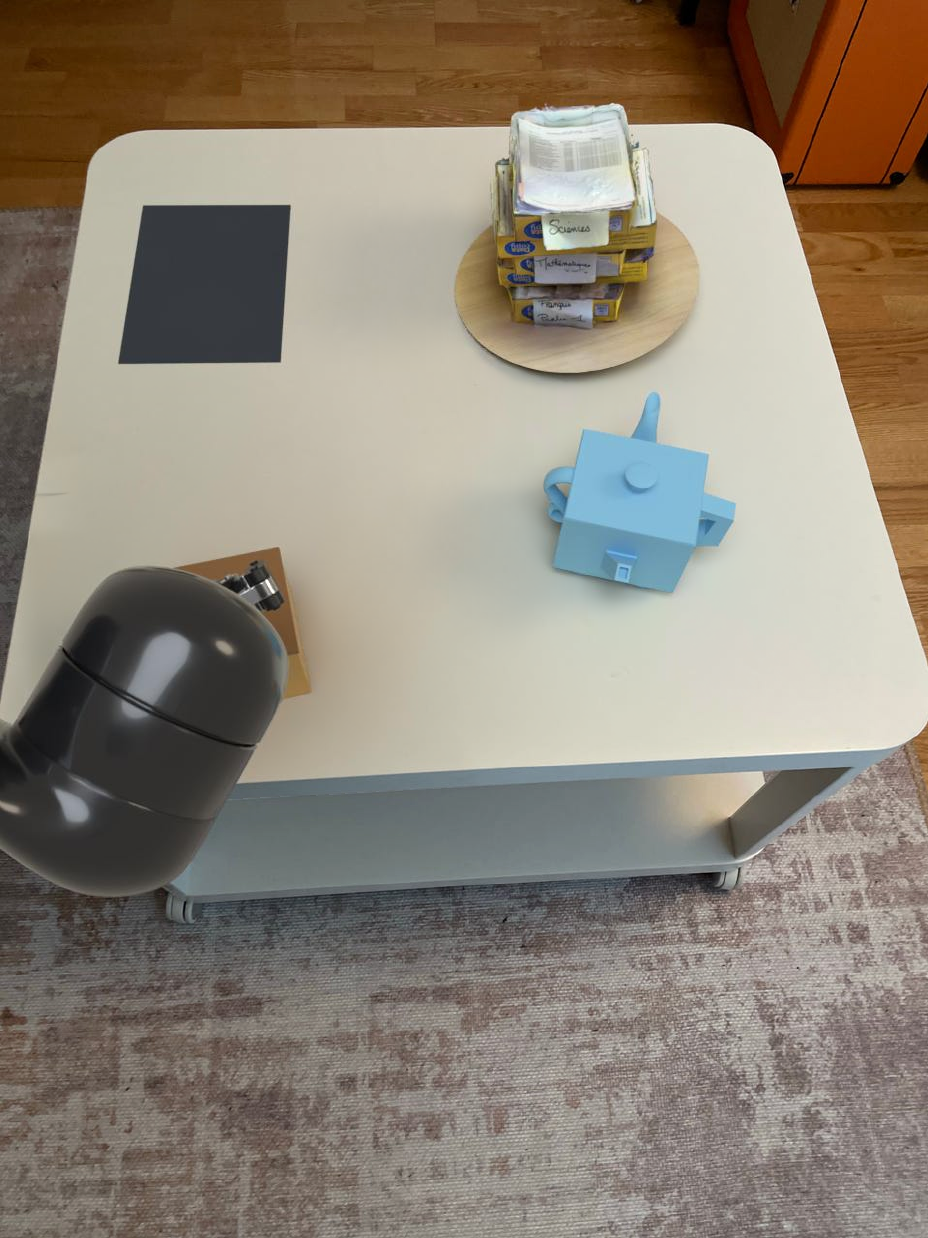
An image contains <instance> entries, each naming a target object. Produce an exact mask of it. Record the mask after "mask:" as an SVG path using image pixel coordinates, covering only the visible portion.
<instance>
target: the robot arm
mask: <svg viewBox="0 0 928 1238" xmlns="http://www.w3.org/2000/svg"><path fill="white" fill-rule="evenodd" d="M250 565H251V566H249V567H247V568H246V571H245V574H243V575H241V576H240V577H239V576H238V574H237V573H235V574H233V575H231V574H228V575H227V576H225V577H223V578H222V579H220V580H219V581H217V580H216V579H212V580H210V579H207V578H205V577H202V576H200V575H197V574H194V573H191V572H187V571H183V570H178V569H173V568H174V567H168V566H156V565H136V566H135V565H134V566H129V567H125V568H122V569H119V570H117V571H115V572H113V573H110V574H109V575H107V576H106V577H105V578H104V579H103V580H102V581H101V582H100V583H99V584H98V586H96V588H95V589H94V590H93V591H92V593H91V594H90V596H88V598H87V600H86V601H85V602H84V604H83V605H82V607H81V609H80V610H79V612H78V614H77V615H76V617H75V619H74V620H73V622H72V624H71V625H70V627H69V629H68V630H67V632H66V633H65V635H64V637H63V639H62V643H61V645H59V646H58V647H57V648H56V651H55V653H54V654H53V656H52V658H51V660H50V661H49V663H48V665H47V667H46V668H45V670H44V672H43V673H42V674H41V677H40V678H39V680H38V682H37V683H36V685H35V687H34V688H33V690H32V692H31V693H30V695H29V697H28V699H27V701H26V703H24V705H23V708H22V709H21V711H20V713H19V714H18V716H17V718H16V719H15V721H14V722H13V723H11V722H8V721H6V720H4V719H1V718H0V850H1V851H3V852H4V853H6V854H7V855H8V856H10V857H11V858H13V859H14V860H15V861H17V862H18V863H20V864H21V865H22V866H23V867H25V868H27V869H28V870H30V871H32V872H33V873H36V874H37V875H38V876H40V877H42V878H43V879H45V880H46V881H48V882H50V883H52V884H54V885H56V886H58V887H61V888H62V889H66V890H68V891H70V892H74V893H77V894H81V895H86V896H91V897H99V898H123V897H130V896H139V895H143V894H146V893H148V892H149V893H150V892H153V891H156V890H158V889H160V888H163V887H164V886H166V885H168V884H170V883H171V882H174V881H175V880H176V879H177V878H179V877H180V875H182V873H184V872H185V870H186V869H187V868H188V867H189V865H190V864H191V863H192V862H193V860H194V859H195V857H196V856H197V854H198V852H199V850H200V849H201V847H202V846H203V844H204V842H205V840H206V839H207V838H208V835H209V833H210V831H211V830H212V828H213V825H214V824H215V822H216V820H217V819H218V816H219V815H220V813H221V811H222V810H223V808H224V806H225V805H226V803H227V801H228V800H229V798H230V797H231V794H232V792H233V790H234V789H235V787H236V785H237V784H238V781H240V778H241V776H242V775H243V773H244V771H245V769H246V767H247V765H248V764H249V763H250V760H251V758H252V757H253V756H254V754H255V751H256V750H257V748H258V744H259V743H261V741H262V739H264V736H265V735H266V732H267V731H268V729H269V727H270V726H271V724H272V722H273V720H274V718H275V716H276V715H277V712H278V711H279V709H280V706H281V704H282V702H283V699H284V698H283V697H284V694H285V691H286V687H287V683H288V678H289V658H288V654H287V651H286V648H285V645H284V643H283V641H282V639H281V637H280V636H279V634H278V633H277V631H276V630H275V628H274V627H273V626H272V624H271V623H270V622H269V621H268V620H267V619H266V618H265V617H264V616H263V615H262V614H261V613H262V612H263V611H265V610H266V612H268V611H270V610H272V609H273V611H275V610H277V609H278V608H280V607H281V606H280V605H281V604H283V603H284V602H285V600H284V596H283V593H282V591H281V590H280V588H279V587H278V585H277V583H276V581H275V579H274V578H273V576H272V574H271V572H270V571H269V569H268V567H267V566H266V564H265V562H264V560H263V559H262V560H260V561H258V562H257V560H255V561H253V562H252V563H250ZM255 607H256V608H257V609H256V608H255Z"/></svg>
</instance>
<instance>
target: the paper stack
mask: <svg viewBox="0 0 928 1238" xmlns="http://www.w3.org/2000/svg"><path fill="white" fill-rule="evenodd" d="M547 105H548V104H547V103H546V102H545V103H544V106H543V107H541V109H539V108H537V106H535V107H534V108H532V109H530V110H529V109H528V110H524V111H523V110H522V111H521V110H520V111H518V110H517V111H516V112H515V113H513V114H512V115H511V116H510V117H511V118H510V130H509V137H508V138H509V141H508V144H509V145H508V158H506V159H505V158H504V157H502V158H501V159H499V160H497V161H496V162H495V163H494V169H495V171H494V172H495V173H494V174H495V177H494V178H493V179H492V180H491V181H490V185H489V186H490V188H489V192H490V203H491V204H490V205H491V216H492V218H491V219H492V224H491V225H490V226H488V227H487V228H486V229H485V230H483V231H482V232H481V233H480V234H479V235H478V236H477V237H476V238H475V239H474V240H473V242H472V243H471V245H470V246H469V247H468V248H467V250H466V251H465V254H464V255H463V257H462V259H461V261H460V263H459V265H458V269H457V272H456V276H455V281H454V297H455V304H456V308H457V311H458V314H459V316H460V319H461V320H462V323H463V324H464V326H465V327H466V329H467V330H468V332H469V333H470V334H471V335H472V336H473V337H474V339H475V340H476V341H478V343H480V344H481V345H482V346H483V347H484V348H486V349H487V350H488V351H489V352H491V353H493V354H494V355H496V356H498V357H499V358H502V359H504V360H505V361H507V362H510V363H512V364H515V365H518V366H521V367H524V368H528V369H532V370H536V371H541V372H548V373H560V374H561V373H563V374H564V373H565V374H568V373H569V374H570V373H571V374H574V373H575V374H576V373H577V374H578V373H579V374H580V373H587V372H594V371H600V370H605V369H609V368H614V367H616V366H620V365H623V364H625V363H629V362H631V361H634V360H636V359H637V358H640V357H643V356H644V355H645V354H647V353H649V352H651V351H652V350H654V349H655V348H657V347H659V346H660V345H662V344H663V343H664V342H666V340H668V339H669V338H671V336H672V335H674V333H675V332H677V330H678V329H679V328H680V327H681V326H682V325H683V323H684V322H685V320H686V319H687V318H688V316H689V314H690V312H691V310H692V309H693V307H694V305H695V302H696V300H697V296H698V293H699V288H700V279H701V278H700V277H701V276H700V267H699V266H700V265H699V261H698V258H697V255H696V252H695V250H694V248H693V246H692V244H691V243H690V241H689V240H688V238H687V236H686V235H685V234H684V232H683V231H681V229H680V228H678V226H677V225H675V224H674V223H673V221H670V220H669V219H668V218H667V217H665V216H664V215H662V214H661V213H659V212H658V211H657V208H656V199H655V190H654V181H653V178H652V173H651V165H650V155H649V154H650V153H649V152H650V151H649V149H648V148H647V147H644V148H642V147H640V142H639V141H640V140H637V142H636V143H635V140H633V141H632V140H631V139H632V138H631V137H633V136H634V135H633V133H631V131H630V126H629V122H628V116H627V113H626V110H625V107H624V106H623V105H621V104H620V103H614V102H612V103H609V104H602V105H599V106H595V105H594V104H593V105H588V104H585V105H578V106H575V105H572V106H560V107H558V106H557V107H555V106H554V105H550V106H547ZM627 112H628V113H630V112H631V111H630V108H628V111H627ZM632 143H633V144H632Z"/></svg>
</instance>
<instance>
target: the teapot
mask: <svg viewBox="0 0 928 1238" xmlns="http://www.w3.org/2000/svg"><path fill="white" fill-rule="evenodd" d="M661 403H662V402H661V396H660V394H659V393H658V392H656V391H652V392H650V394H648V396H647V398H646V400H645V403H644V406H643V409H642V414H641V417H640V419H639V421H638V423H637V426H636V427H635V430H634V431H633V433H632V434H631V436H630V437H628V436H624V435H619V434H614V433H609V432H604V431H598V430H593V429H587V428H582V432H581V437H580V441H579V446H578V450H577V454H576V458H575V459H576V460H575V463H574V466H558V467H555V468H553V469H551V470H550V471H548V472H547V473H546V475H545V477H544V480H543V490H544V493H545V495H546V497H547V498H548V499H549V501H550V503H549V504H548V507H547V515H548V517H549V518H550V519H551V520H553V521H554V522H556V523H560V524H561V526H560V531H559V536H558V540H557V544H556V549H555V554H554V558H553V563H552V568H556V569H559V570H563V571H569V572H573V573H575V574H578V575H582V576H585V575H587V576H591V577H595V578H601V579H605V580H610V581H615V582H619V583H625V584H628V585H633V586H636V587H638V588H641V589H646V588H648V589H652V590H657V591H662V592H667V593H671V594H673V593H674V591H675V589H676V587H677V585H678V583H679V581H680V579H681V577H682V575H683V573H684V571H685V569H686V567H687V565H688V563H689V561H690V559H691V557H692V555H693V553H694V551H695V549H696V547H719V546H720V544H721V542H722V541H723V539H724V537H726V534H727V532H728V531H729V529H730V528H731V527H732V524H733V523H734V521H735V514H736V506H737V503H736V502H734V501H731V500H728V499H725V498H721V497H718V496H715V495H712V494H709V493H706V492H704V491H705V486H706V478H707V472H708V466H709V465H708V464H709V457H710V454H708V453H705V452H701V451H700V452H699V451H696V450H692V449H687V448H682V447H677V446H672V445H669V444H668V445H667V444H663V443H658V442H657V441H658V440H657V438H658V437H657V435H658V434H657V433H658V423H659V416H660V410H661ZM557 484H569V490H568V495H567V496H566V495H565V493H563V491H562V490H561V489H560V488H559V487H558V485H557Z"/></svg>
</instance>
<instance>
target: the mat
mask: <svg viewBox="0 0 928 1238" xmlns="http://www.w3.org/2000/svg"><path fill="white" fill-rule="evenodd" d="M291 207H292V206H291V204H184V205H182V204H160V205H159V204H155V205H153V204H152V205H151V204H150V205H149V204H146V205H145V204H143V205H142V210H141V216H140V223H139V230H138V235H137V240H136V241H137V242H136V247H135V255H134V261H133V266H132V267H133V268H132V274H131V280H130V285H129V286H130V287H129V292H128V298H127V305H126V311H125V318H124V323H123V324H124V325H123V330H122V337H121V341H120V342H121V343H120V349H119V355H118V362H117V364H118V365H160V364H161V365H162V364H163V365H165V364H166V365H167V364H169V365H171V364H174V365H175V364H179V365H180V364H262V363H263V364H266V363H269V364H270V363H271V364H275V363H276V364H277V363H279V364H280V363H282V350H283V349H282V348H283V336H284V335H283V334H284V333H283V332H284V316H285V304H286V303H285V302H286V285H287V271H288V256H289V255H288V254H289V241H290V240H289V239H290V225H291V223H290V222H291Z"/></svg>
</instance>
